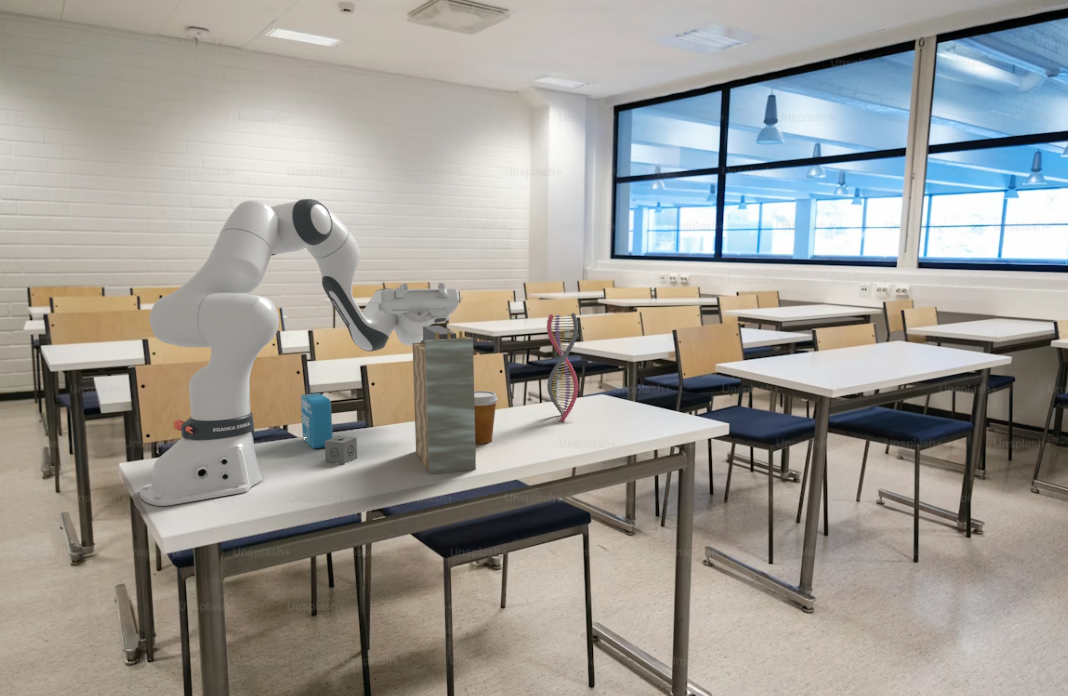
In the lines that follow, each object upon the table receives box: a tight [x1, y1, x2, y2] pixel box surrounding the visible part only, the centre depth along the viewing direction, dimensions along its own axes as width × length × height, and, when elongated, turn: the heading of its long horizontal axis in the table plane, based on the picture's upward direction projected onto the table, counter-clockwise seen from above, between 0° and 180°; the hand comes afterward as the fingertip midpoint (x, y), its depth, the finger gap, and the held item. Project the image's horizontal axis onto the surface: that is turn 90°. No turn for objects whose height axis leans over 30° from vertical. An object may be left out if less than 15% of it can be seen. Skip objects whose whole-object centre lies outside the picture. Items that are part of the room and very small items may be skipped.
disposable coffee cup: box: [474, 390, 499, 445], centre depth 174 cm, size 10×10×12 cm
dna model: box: [546, 312, 579, 422], centre depth 198 cm, size 9×9×30 cm
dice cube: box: [324, 435, 358, 465], centre depth 159 cm, size 5×5×5 cm
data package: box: [300, 392, 334, 450], centre depth 173 cm, size 12×4×12 cm, turn 31°
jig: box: [412, 330, 477, 475], centre depth 157 cm, size 19×10×30 cm, turn 18°
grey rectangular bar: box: [422, 325, 457, 342], centre depth 158 cm, size 20×4×4 cm, turn 18°
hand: (423, 285), depth 175 cm, fingers open, 8 cm apart
